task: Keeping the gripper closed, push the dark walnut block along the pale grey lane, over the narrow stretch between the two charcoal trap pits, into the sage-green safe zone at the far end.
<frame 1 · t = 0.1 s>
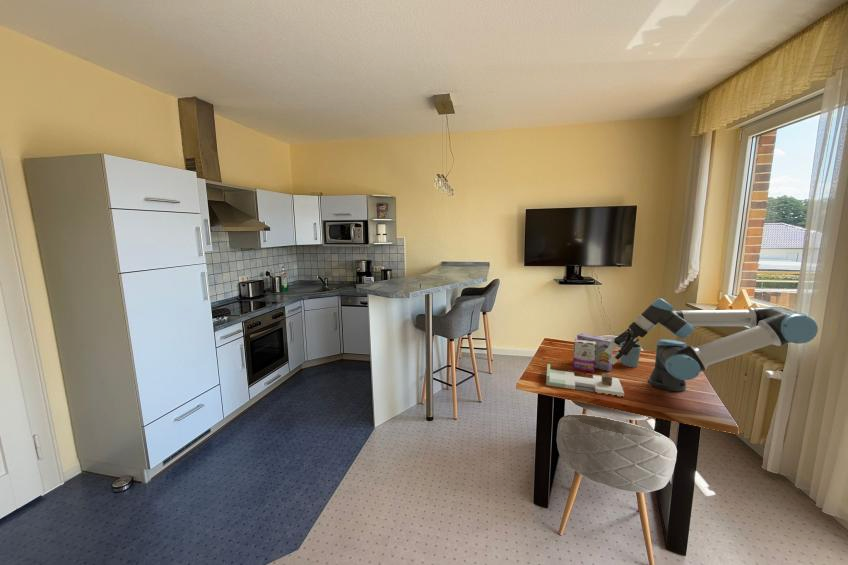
hand: (608, 357, 168), 15 cm above the table, tool tilted 35°, fingers open, 13 cm apart
walnut block: (606, 383, 169), point 2 cm above the table, touching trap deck
cake pan box: (592, 366, 196), on the table
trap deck: (584, 383, 173), on the table
drinking glass: (628, 364, 198), on the table
candy bar box: (583, 369, 191), on the table
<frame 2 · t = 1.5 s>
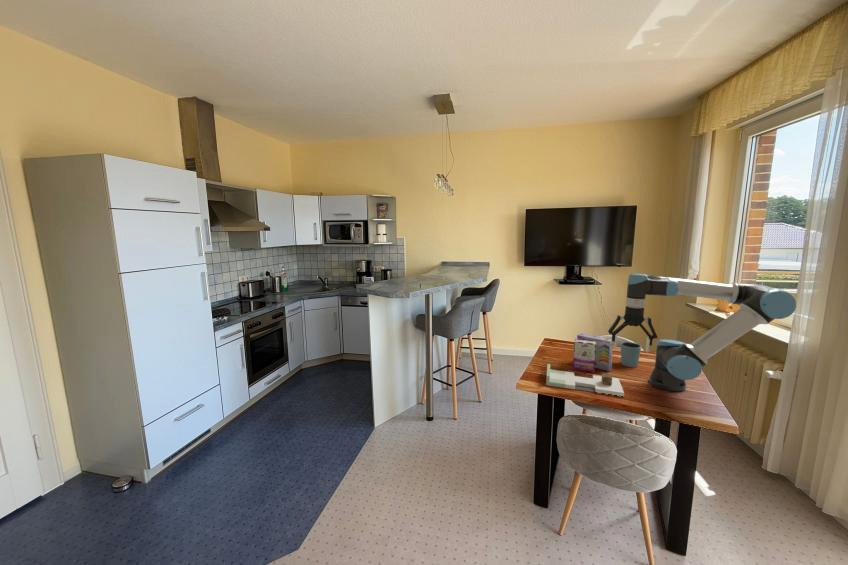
hand: (630, 349, 163), 21 cm above the table, tool pointing down, fingers open, 13 cm apart
nothing on the table moved.
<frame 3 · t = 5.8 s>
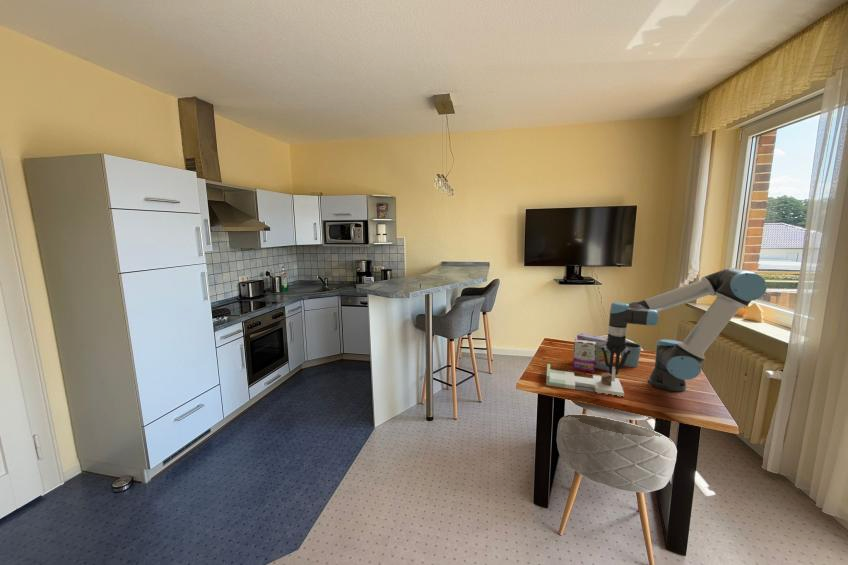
hand: (612, 380, 168), 4 cm above the table, tool pointing down, fingers closed
walnut block: (606, 383, 169), point 2 cm above the table, touching gripper
everything else where it was.
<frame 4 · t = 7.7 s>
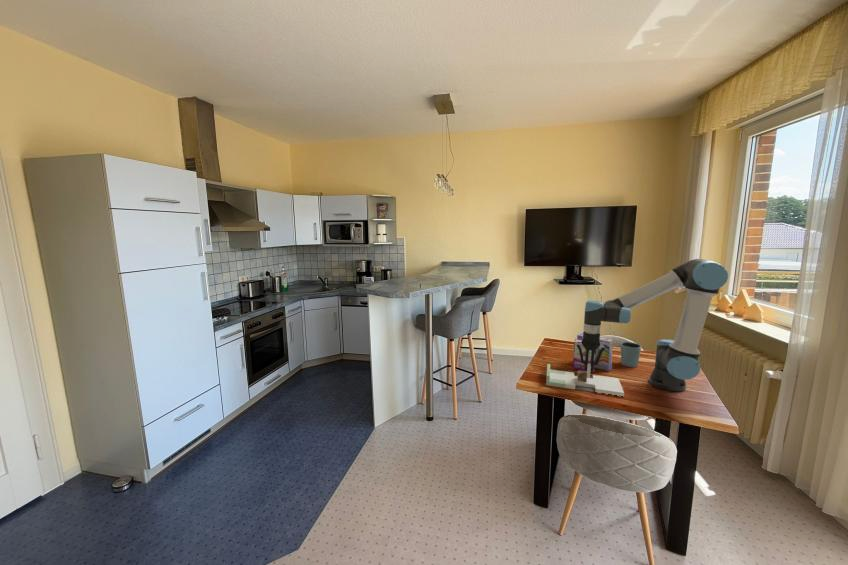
hand: (588, 376, 172), 4 cm above the table, tool pointing down, fingers closed
walnut block: (581, 379, 173), point 2 cm above the table, touching gripper, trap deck
everything else where it was.
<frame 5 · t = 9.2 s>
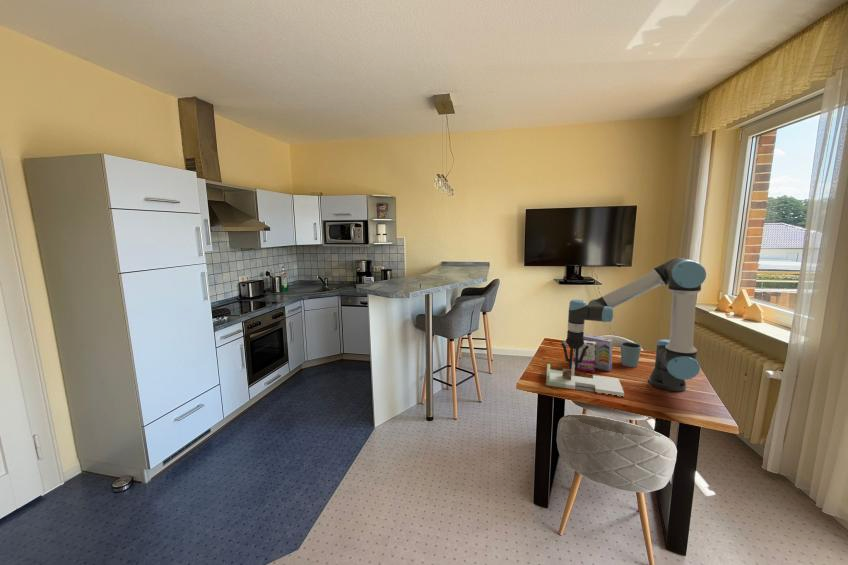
hand: (572, 374, 175), 4 cm above the table, tool pointing down, fingers closed
walnut block: (566, 377, 176), point 2 cm above the table, touching gripper
everything else where it was.
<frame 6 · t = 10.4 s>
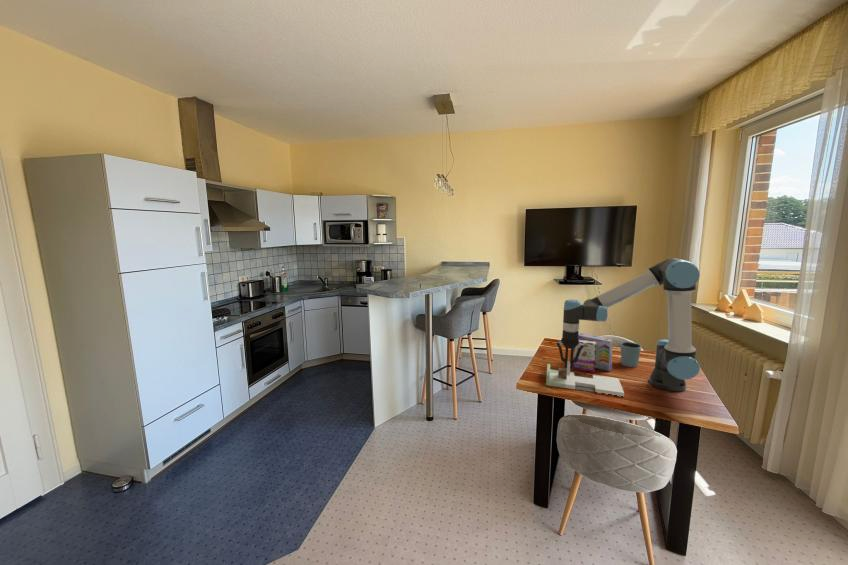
hand: (568, 374, 175), 4 cm above the table, tool pointing down, fingers closed
walnut block: (562, 377, 177), point 2 cm above the table, touching gripper, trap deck
everything else where it was.
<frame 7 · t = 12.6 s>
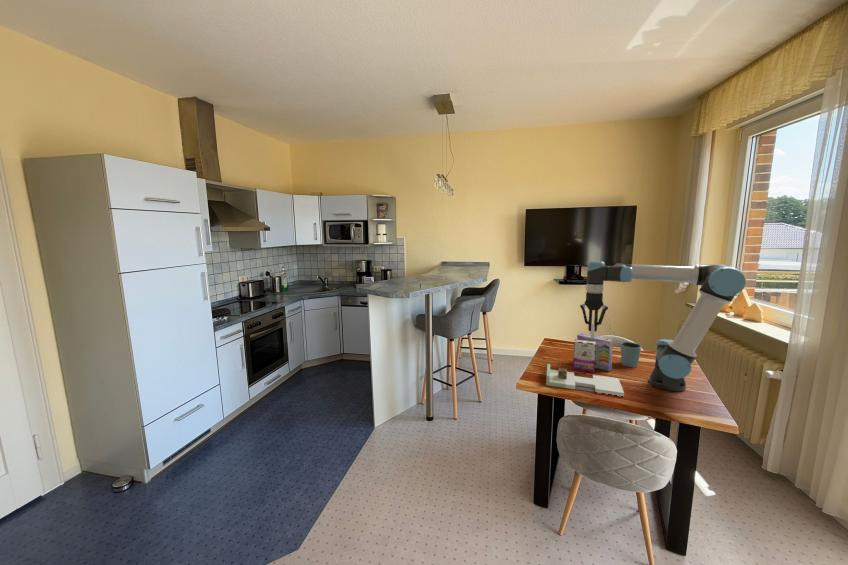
hand: (592, 337, 174), 23 cm above the table, tool pointing down, fingers closed
walnut block: (562, 377, 177), point 2 cm above the table, touching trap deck
everything else where it was.
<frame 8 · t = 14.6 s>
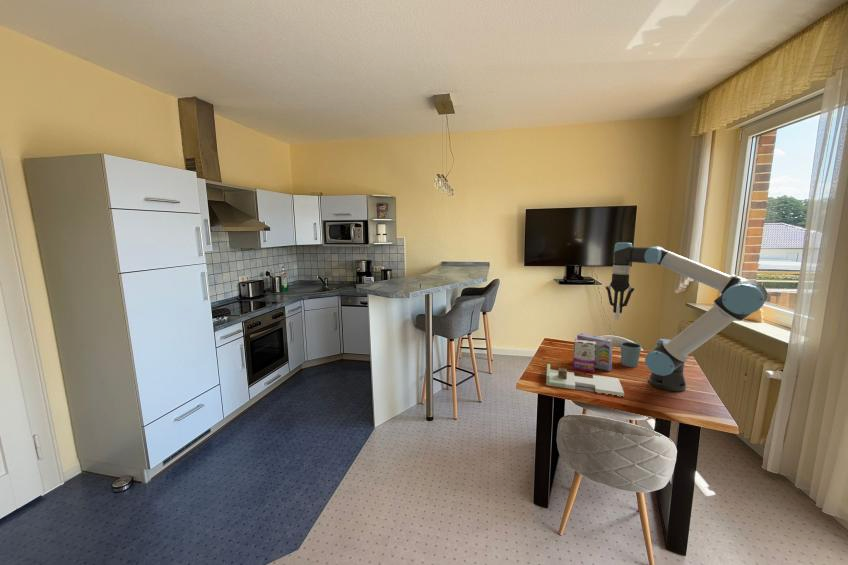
hand: (616, 319, 174), 32 cm above the table, tool pointing down, fingers closed
nothing on the table moved.
at the end: walnut block inside the target area (1.1 cm from its centre), point 2.0 cm above the table; walnut block tilted 0° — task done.
